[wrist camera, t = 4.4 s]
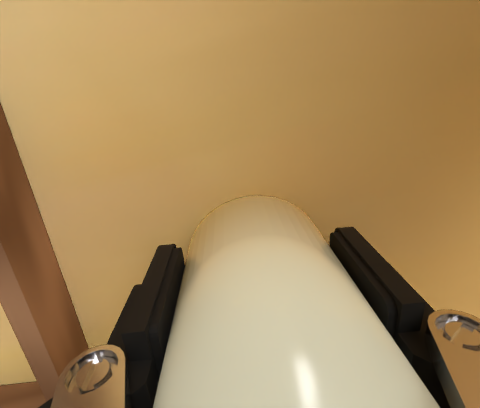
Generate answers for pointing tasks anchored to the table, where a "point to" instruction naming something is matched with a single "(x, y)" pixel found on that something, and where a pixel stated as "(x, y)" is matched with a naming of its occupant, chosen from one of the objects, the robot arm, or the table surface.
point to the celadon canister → (277, 321)
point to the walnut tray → (32, 286)
